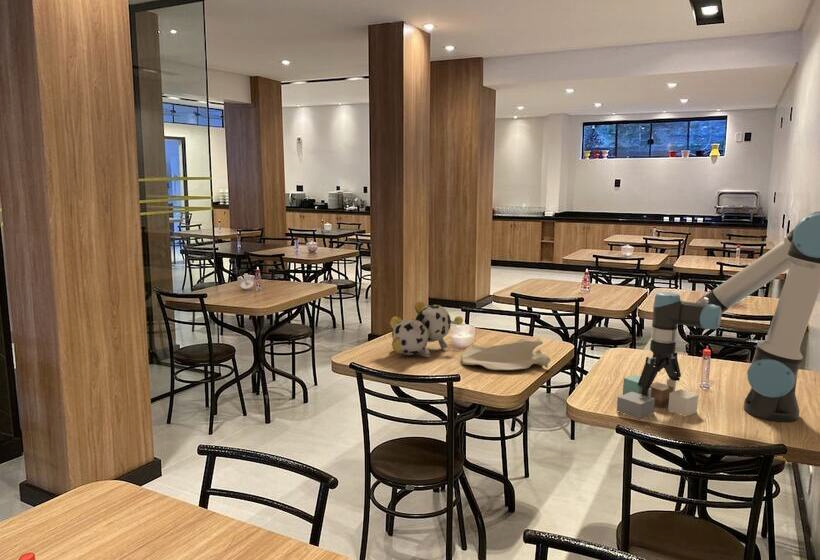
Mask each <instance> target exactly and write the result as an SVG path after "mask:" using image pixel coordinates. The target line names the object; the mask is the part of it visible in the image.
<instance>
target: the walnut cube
mask: <svg viewBox="0 0 820 560" xmlns="http://www.w3.org/2000/svg"><path fill="white" fill-rule="evenodd" d="M650 388H651V398H654V399H655V404H654V407H657V408H660V409H662V408H665V407H668V406H669V394H670V393H671V392H673V387H671V386H668V385H667V384H664V383H661V382H658V381H655V382H652V384H651V386H650Z"/></svg>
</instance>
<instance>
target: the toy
mask: <svg viewBox="0 0 820 560" xmlns="http://www.w3.org/2000/svg"><path fill="white" fill-rule="evenodd" d="M414 311H416V316H415V319H413V318H407V319H406V318H405V319H402V318H401V317H399V316H396V315H395V316H393V317H392V318H390V320H389V321H390V322H389V324H390V326H391V328H392V333H391V337H392V342H391V347H392V350H394V352H395V353H396V354H401V355H403V356H414V355H420V356H422V357H423V358H427V359H428V358H430V357H431V352H430V350H429V349H428V347H427V344H428V343H432V342H433V343H434V342H438V345H439V346H440V348H441V349H442V350H443V349H446V348H448V347H449V345H448V344H447V343H446V341H445V340H444V338H445V337H447V335H448V333H449V332H450V329H451V325H457V326H458V325H459V326H461V325H462V324H463V323H464V318H463V317H462V316H459V315H458V316H455V317H454V320H451V316H450V313H449V311H447V310H446V308H444V307H443V306H442V305H438V304H430V305H427V304H426V303H425V302H424V301H423V300H418V301H416V302H415V304H414Z"/></svg>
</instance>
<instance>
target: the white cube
mask: <svg viewBox="0 0 820 560" xmlns="http://www.w3.org/2000/svg"><path fill="white" fill-rule="evenodd" d="M698 399H699V395H698V394H697V393H693V392H690V391H687V390H684V389H681V388H680V389H677V390H675V391H674V392H671V393H670V394H669V406H667V410H668V412H670V411H672V412H671V413H673V412H675V413H674V414H676V413H678V414H677V415H679V414H681V415H680V416H682V415H684V416H683V417H685V416H687V415H689V416H691V414H692V415H695V414H697V412H698V411H697V410H698V401H699V400H698ZM694 413H695V414H694ZM687 417H688V416H687Z"/></svg>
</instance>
